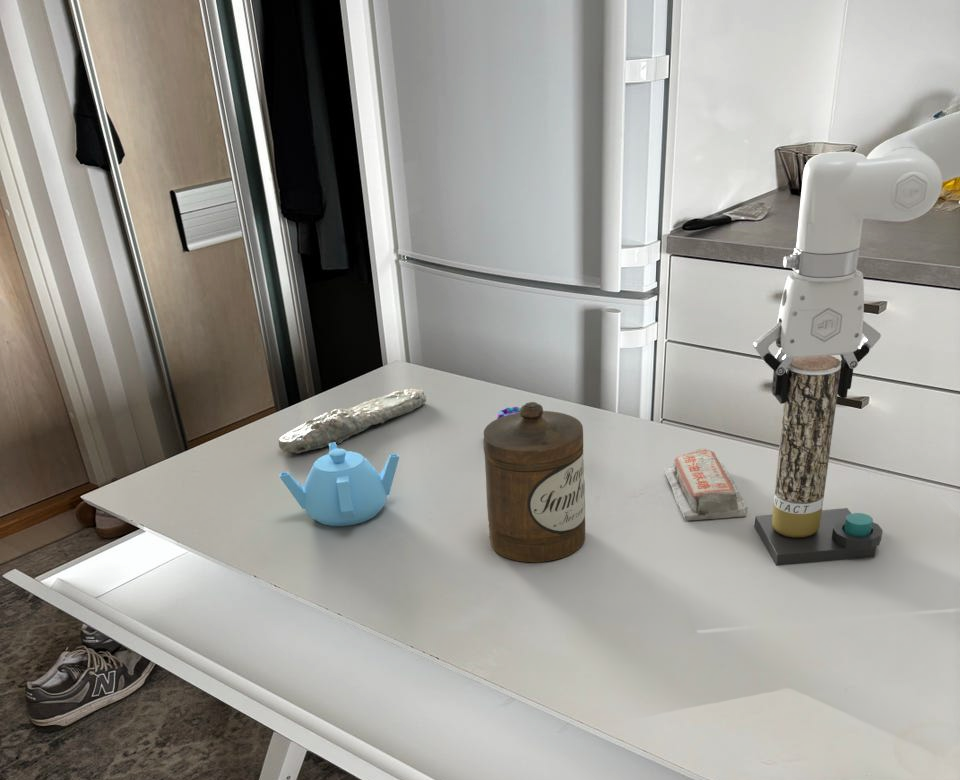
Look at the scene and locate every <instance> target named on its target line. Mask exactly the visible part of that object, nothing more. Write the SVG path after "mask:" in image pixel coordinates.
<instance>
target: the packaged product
mask: <svg viewBox="0 0 960 780" xmlns="http://www.w3.org/2000/svg"><path fill="white" fill-rule="evenodd" d="M672 464H673V466H671V467H670V468H667V467H664V474H665V476H666V478H667V480H668V483H669V484H670V487H671V490H672V493H673V496H674V499H675V503H676V504H677V505H678V506H679V510H680V512H681V514H682V516H683V518H684V520H685V521H699V520H700V521H701V520H714V519H715V520H716V519H717V520H718V519H729V518H741V517H747V515H748V514H747V513H748V506H747V503H746V502H745V500H744V499H743V497H742V495H741V493H740V491H739V489H738V487H737V486H736V484H735V482H734V480H733V478H732V476H731V474H730V472H729V470H728V468H727V467H726V465H725V462H724V461H723V460H719V459H718V458H717V456H716V454H715V451H714V450H709V449H707V448H700V449H696V450H694V451H690V452H687V453H684V454H682V455H679V456H676V457H675V459H674V461H673V463H672Z"/></svg>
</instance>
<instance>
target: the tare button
mask: <svg viewBox="0 0 960 780" xmlns="http://www.w3.org/2000/svg"><path fill="white" fill-rule="evenodd" d="M873 519H874V518H873V517H872V516H871V515H868V514H867V513H862V512H851V514H849V515H848V516H847V517H846V521H845V528H844V531H845V533H847V534H849V535H853V536H868V535H870V533H871V529H872V523H873V522H874V520H873Z"/></svg>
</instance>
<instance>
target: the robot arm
mask: <svg viewBox="0 0 960 780" xmlns="http://www.w3.org/2000/svg"><path fill="white" fill-rule="evenodd" d="M802 173H803V174H802V183H801V192H800V201H799V202H800V203H799V213H798V222H797V224H798V226H797V233H796V242H795V243H796V244H795V247H794V248H793V253H792V254H790V255H787V256H786V255H785V256H784V257H783V263H782V264H783V268H785V269H786V268H789V269H792V270H793V271H792V272H789V273H788V276H787V278H786V282H785V284H784V288H783V292H782V296H781V301H780V305H779V310H778V316H777V322H776V324H775V325H773V326H772V327H771V328H770V329H769V330H767V331H766V332H765V333H763V334H762V335H761V336H760V337H759V338H758V339H755V341H754V342H753V343H752V344H753V345H752V346H753V348H754V349H755V351H756V352H757V354H758V355H759V356H760V358H761V359H762V360H763V361H764V362H765V363H766V365H767V366H768V367H769V368H771V369H772V370H773V375H772V384H771V385H772V386H771V393H772V395H773V397H774V398H776V400H777V401H778V403H779V404H781V405H782V404H783V405H784V403H785V402H786V401H787V392H788V382H789V375H788V374H787V369H788V367H789V366H790V364H791V363H792V361H793V360H794V358H810V357H822V356H839V357H840V361H841V370H840V378H839V385H838V393H837V396H839V397H840V399H847V397H848V390H850V389H851V388H852V381H853V374H854V369H856V368H857V367H858V365H859V362H861V361H862V359H864V358H865V357H867V355H868V354H869V353H870V350H871V349H872V348H873V347H874V346H875V345H876V343H878V342H879V340H880V339H881V337H882V334H881V333H880V332H879V330H876V329H875V328H874V327H873V326H871V325H870V324H869V323H868V322H866V321H865V320H864V314H865V313H864V311H865V287H864V285H865V283H864V273H863V272H862V271H860V270H859V269H857V267H858V261H859V260H858V259H859V254H860V253H859V252H860V246H861V238H862V231H863V222H864V220H874V221H875V220H877V221H885V222H894V223H895V222H898V223H899V222H908V221H912V220H916V219H918V218H920V217H922V216H923V215H925V214H926V213H928V212H929V211H930V210H931V209H932V208H933V207H934V206H935V204H936V203H937V201H938V199H939V197H940V196H941V193H942V188H943V183H944V182H947V181H950V180H953V179H956V178H960V110H958V111H956V112H952V113H949V114H946V115H944V116H941V117H939V118H935V119H933V120H930V121H928V122H926V123H923V124H921V125H918V126H916V127H914V128H911V129H909V130H906V131H904V132H902V133H900V134H898V135H895V136H892V137H891V138H888V139H886V140H885V141H883V142H882V143H880V144H879V145H877V146H876V147H874V148H873V149H872V150H871V151H870V152H869V153H868V154H867V156H866V155H864V154H862V153H859V152H855V151H830V152H822V153H819V154H816V155H814V156H811V157H810V158H809V159H808V160H807V161H806V164H804V168H803V172H802ZM863 335H864V336H863ZM862 337H863V338H862ZM774 342H775V345H776V347H777V348H779V350H778V351H777V353H776V355H775V356H774V355H773V353H771V351H770V350H769V348H770V346H771V345H772V344H773V343H774Z"/></svg>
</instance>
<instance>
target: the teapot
mask: <svg viewBox="0 0 960 780" xmlns="http://www.w3.org/2000/svg"><path fill="white" fill-rule="evenodd" d="M337 444H338V443H337ZM337 444H336V442H334V443H329V445H328V448H329V452H328V453H327V454H324V455H322V456H320V457H318V458H317V459H316V460H315V461H314V463H313V464H312V466H311V468H310V471H309V473H308V475H307V477H306V481H305V483H304V485H302V484H301V483H300V482H299V481H298V480H297V479H296V478H294V476H293V475H292V474H291V473H290V471H284V472H280V473H279V474H278V475H279V478H280V480H281V481H282V482H283V484H284V486H285V487H286V488H287V489H288V491H289V492H290V494H291V495H292V497H294V499H295V501H296V502H297V503H298V505H299V506H300V507H301V509H303V510H305V512H306V514H307V515H308V516H309V517H310V518H312V519H313V520H315V521H316V522H318V523H319V524H322V525H325V526H329V527H349V526H354V525H358V524H359V525H360V524H362V523H365V522H367V521H369V520H371V519H373V518H374V517H376V516H377V515H379V513H380V511H381V510H382V509H383V507H384V506H385V504H386V502H387V498H388V496H390V493H391V489H392V485H393V481H394V478H395V474H396V472H397V467H398V464H399V460H400V453H391V454H389V455H388V458H387V460H386V462H385V464H384V466H383V468H382V471H381V472H380V473H379V472H378V471H377V470H376V468H375V467H374V466H373V465H372V464H371V463H370V461H369V460H368V459H367V458H366V457H364V456H363V455H362V454H361V453H359V452H356V451H350V450H349V451H348V450H346V449H344V448H339V447H338V445H337Z"/></svg>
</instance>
